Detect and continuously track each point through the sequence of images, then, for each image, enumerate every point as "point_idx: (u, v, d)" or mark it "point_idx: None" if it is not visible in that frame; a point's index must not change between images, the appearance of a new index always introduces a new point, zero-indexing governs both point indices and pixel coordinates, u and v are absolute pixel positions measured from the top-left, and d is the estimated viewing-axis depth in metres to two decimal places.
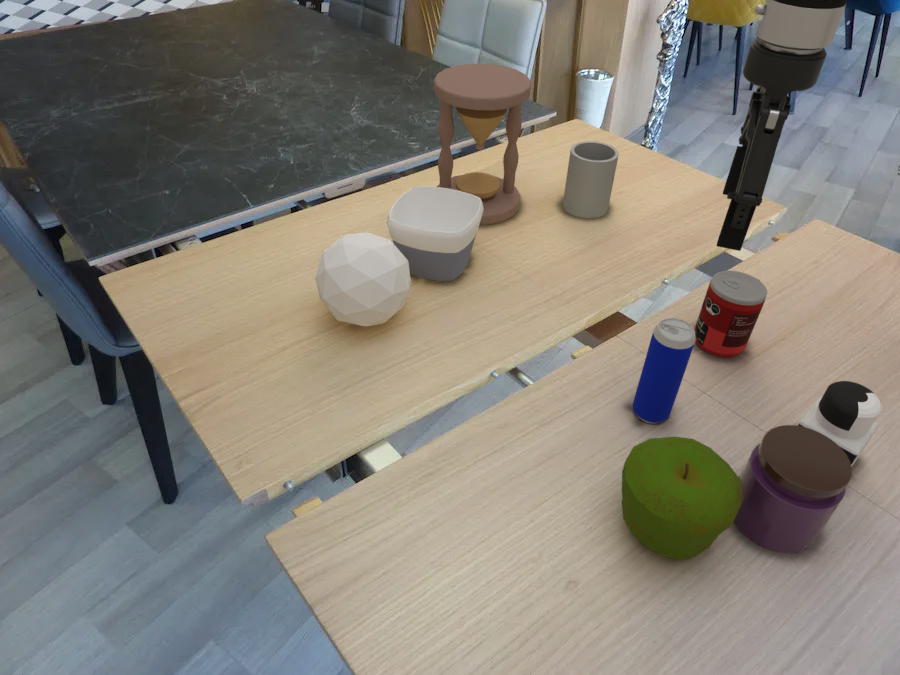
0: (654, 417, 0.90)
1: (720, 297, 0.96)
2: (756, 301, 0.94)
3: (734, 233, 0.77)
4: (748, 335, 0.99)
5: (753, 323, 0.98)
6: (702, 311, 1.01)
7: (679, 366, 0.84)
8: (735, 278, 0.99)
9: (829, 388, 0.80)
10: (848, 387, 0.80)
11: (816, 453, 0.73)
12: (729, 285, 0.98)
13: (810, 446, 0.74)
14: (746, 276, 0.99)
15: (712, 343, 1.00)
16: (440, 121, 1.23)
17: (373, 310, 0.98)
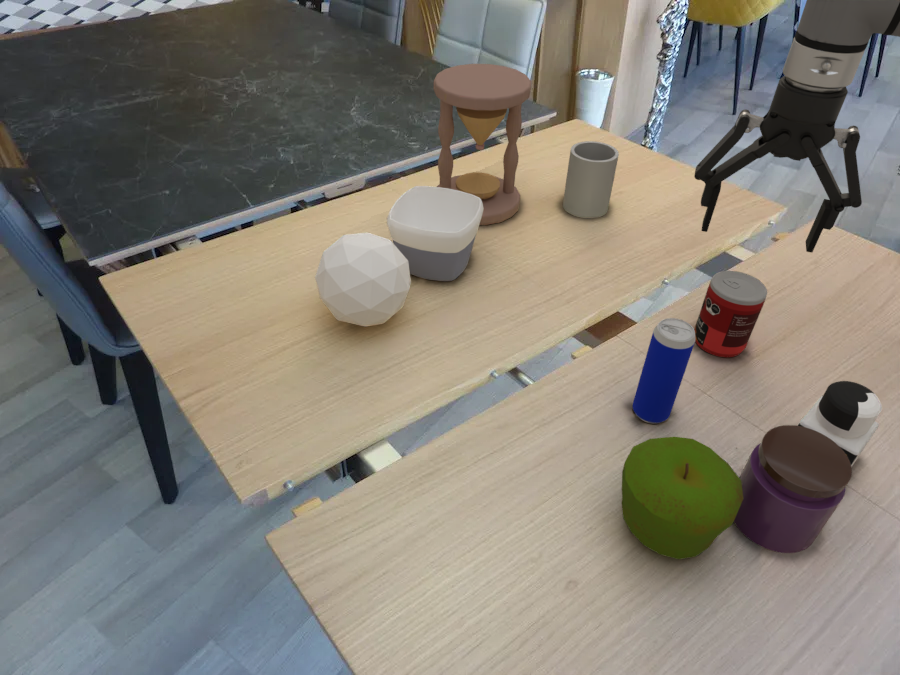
0: (654, 417, 0.90)
1: (720, 297, 0.96)
2: (756, 301, 0.94)
3: None
4: (748, 335, 0.99)
5: (753, 323, 0.98)
6: (702, 311, 1.01)
7: (679, 366, 0.84)
8: (735, 278, 0.99)
9: (829, 388, 0.80)
10: (848, 387, 0.80)
11: (816, 453, 0.73)
12: (729, 285, 0.98)
13: (810, 446, 0.74)
14: (746, 276, 0.99)
15: (712, 343, 1.00)
16: (440, 121, 1.23)
17: (373, 310, 0.98)
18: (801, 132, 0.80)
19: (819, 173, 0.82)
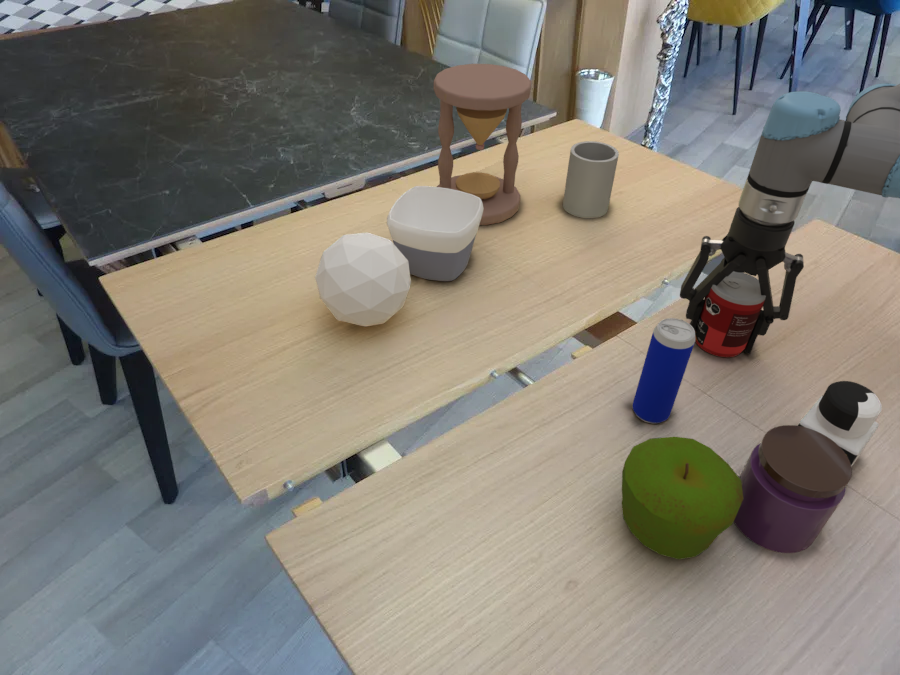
0: (654, 417, 0.90)
1: (720, 297, 0.96)
2: (756, 301, 0.94)
3: None
4: (748, 335, 0.99)
5: (753, 323, 0.98)
6: (702, 311, 1.01)
7: (679, 365, 0.84)
8: (735, 278, 0.99)
9: (829, 388, 0.80)
10: (848, 387, 0.80)
11: (816, 453, 0.73)
12: (729, 285, 0.98)
13: (810, 446, 0.74)
14: (746, 276, 0.99)
15: (712, 343, 1.00)
16: (440, 121, 1.23)
17: (373, 310, 0.98)
18: None
19: (762, 289, 0.95)
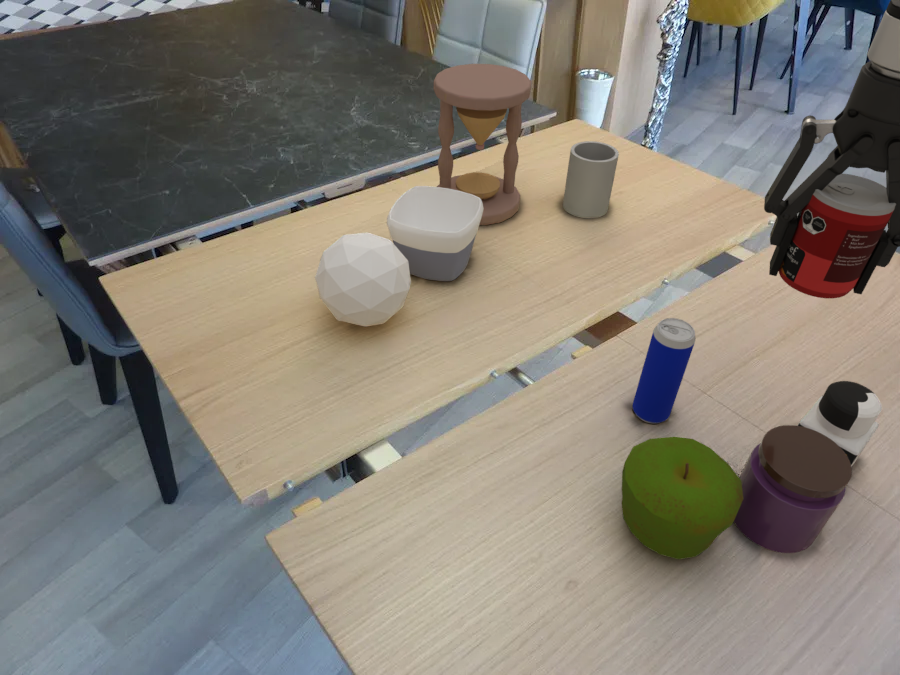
0: (654, 417, 0.90)
1: (827, 205, 0.66)
2: (883, 210, 0.64)
3: None
4: (863, 265, 0.69)
5: (873, 246, 0.68)
6: (795, 231, 0.71)
7: (679, 365, 0.84)
8: (846, 183, 0.69)
9: (829, 388, 0.80)
10: (848, 387, 0.80)
11: (816, 453, 0.73)
12: (838, 191, 0.68)
13: (810, 446, 0.74)
14: (862, 180, 0.69)
15: (809, 278, 0.70)
16: (440, 121, 1.23)
17: (373, 310, 0.98)
18: (894, 128, 0.61)
19: (891, 192, 0.65)
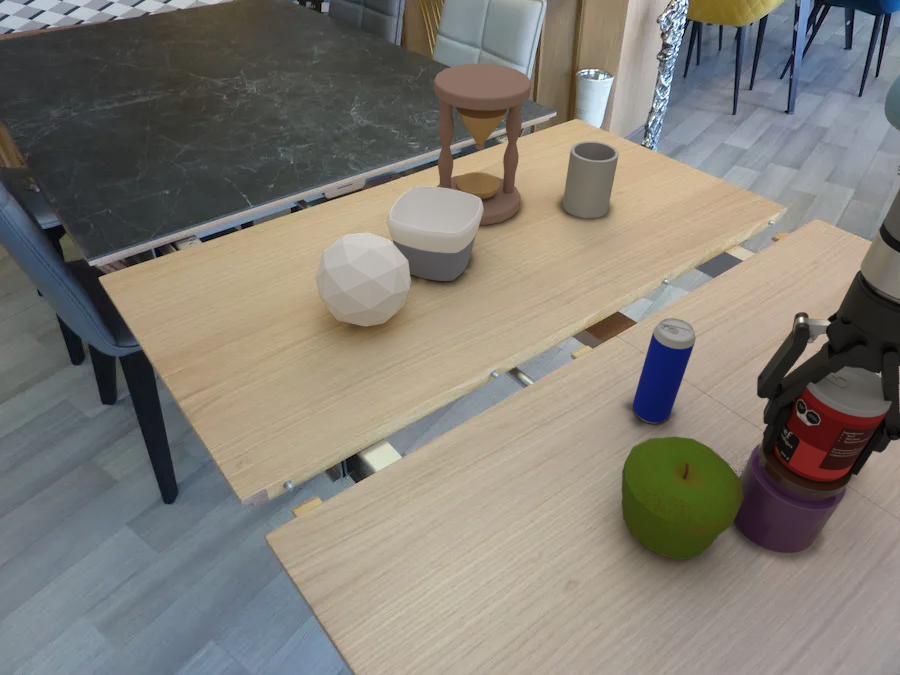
0: (654, 417, 0.90)
1: (822, 402, 0.64)
2: (879, 411, 0.63)
3: None
4: (859, 453, 0.68)
5: (869, 438, 0.66)
6: (789, 416, 0.69)
7: (679, 365, 0.84)
8: (840, 370, 0.67)
9: None
10: None
11: None
12: (832, 382, 0.66)
13: None
14: None
15: (804, 463, 0.69)
16: (440, 121, 1.23)
17: (373, 310, 0.98)
18: None
19: (887, 392, 0.63)
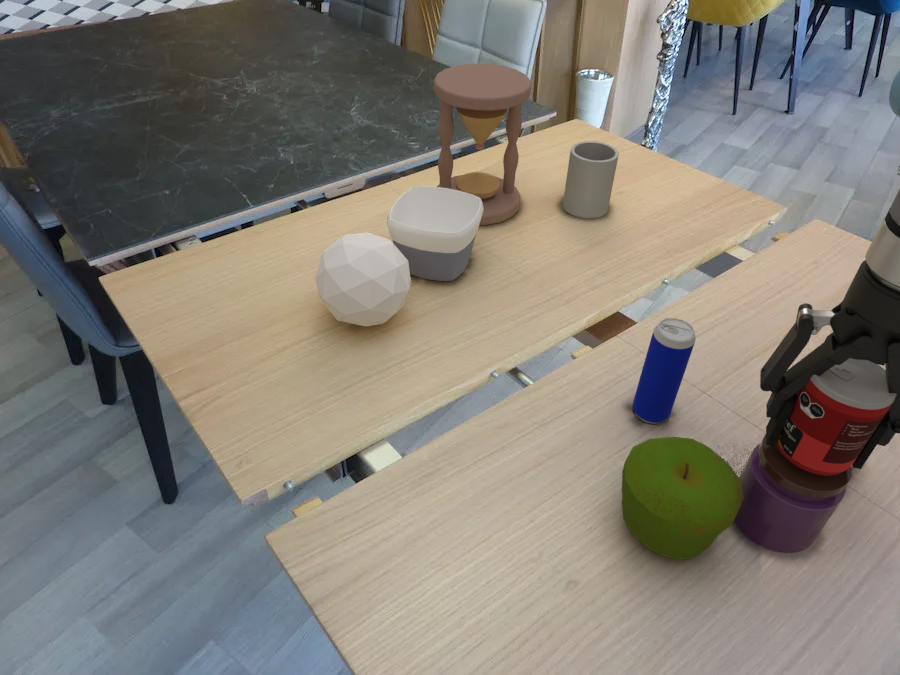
0: (654, 417, 0.90)
1: (825, 395, 0.64)
2: (884, 403, 0.62)
3: None
4: (863, 446, 0.67)
5: (873, 431, 0.65)
6: (792, 409, 0.68)
7: (679, 366, 0.84)
8: (844, 362, 0.67)
9: None
10: None
11: None
12: (836, 375, 0.65)
13: None
14: None
15: (807, 457, 0.68)
16: (440, 121, 1.23)
17: (373, 310, 0.98)
18: None
19: (891, 384, 0.62)
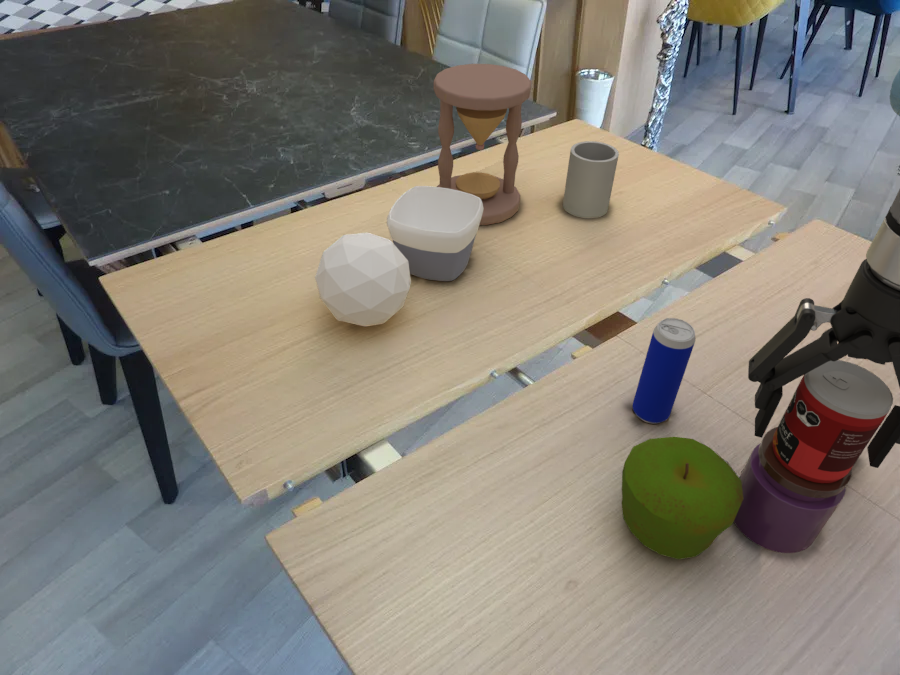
0: (654, 417, 0.90)
1: (821, 403, 0.64)
2: (879, 413, 0.63)
3: None
4: (858, 455, 0.68)
5: (868, 440, 0.66)
6: (789, 417, 0.69)
7: (679, 366, 0.84)
8: (841, 372, 0.67)
9: None
10: None
11: None
12: (833, 384, 0.66)
13: None
14: (857, 369, 0.67)
15: (803, 464, 0.69)
16: (440, 121, 1.23)
17: (373, 310, 0.98)
18: (891, 330, 0.59)
19: None
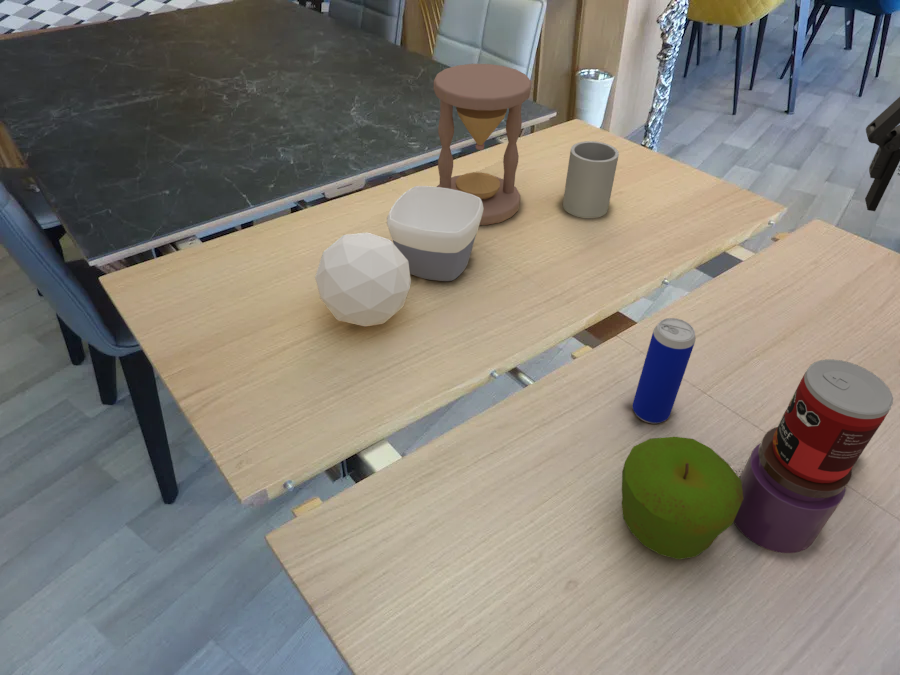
0: (654, 417, 0.90)
1: (821, 403, 0.64)
2: (879, 413, 0.63)
3: None
4: (858, 455, 0.68)
5: (868, 440, 0.66)
6: (789, 417, 0.69)
7: (679, 365, 0.84)
8: (841, 372, 0.67)
9: None
10: None
11: None
12: (833, 384, 0.66)
13: None
14: (857, 369, 0.67)
15: (803, 464, 0.69)
16: (440, 121, 1.23)
17: (373, 310, 0.98)
18: None
19: None
